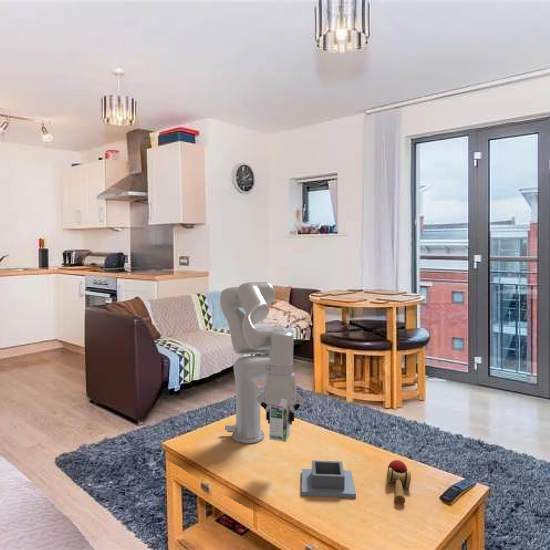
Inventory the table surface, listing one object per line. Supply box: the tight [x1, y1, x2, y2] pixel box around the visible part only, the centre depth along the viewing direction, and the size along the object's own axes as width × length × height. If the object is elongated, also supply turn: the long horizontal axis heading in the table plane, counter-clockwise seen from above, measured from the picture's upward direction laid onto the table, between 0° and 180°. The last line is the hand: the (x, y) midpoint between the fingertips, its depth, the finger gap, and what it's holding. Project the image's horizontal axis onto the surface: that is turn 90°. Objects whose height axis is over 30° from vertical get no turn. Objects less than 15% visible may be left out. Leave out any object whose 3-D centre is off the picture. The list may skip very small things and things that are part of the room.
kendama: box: [385, 459, 412, 505], centre depth 138 cm, size 8×6×18 cm
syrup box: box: [268, 398, 291, 443], centre depth 148 cm, size 6×6×14 cm
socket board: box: [301, 459, 357, 499], centre depth 140 cm, size 16×14×5 cm
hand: (280, 422), depth 148 cm, fingers closed on syrup box, 6 cm apart
